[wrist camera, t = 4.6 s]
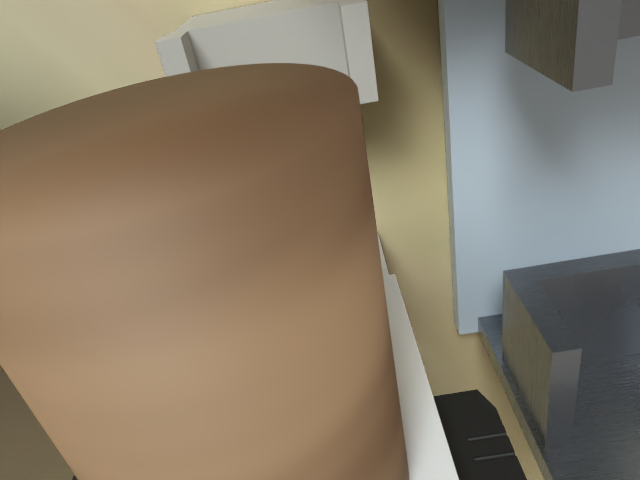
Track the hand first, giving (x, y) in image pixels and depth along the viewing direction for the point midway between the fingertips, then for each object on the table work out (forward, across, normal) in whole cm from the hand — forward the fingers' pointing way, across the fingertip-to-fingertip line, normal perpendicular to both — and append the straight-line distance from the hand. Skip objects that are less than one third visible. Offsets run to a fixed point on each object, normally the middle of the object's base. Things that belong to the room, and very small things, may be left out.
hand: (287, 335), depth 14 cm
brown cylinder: (-3, 0, 0) cm, 3 cm away
